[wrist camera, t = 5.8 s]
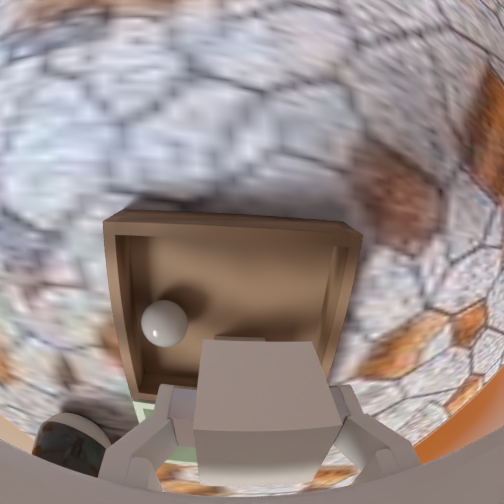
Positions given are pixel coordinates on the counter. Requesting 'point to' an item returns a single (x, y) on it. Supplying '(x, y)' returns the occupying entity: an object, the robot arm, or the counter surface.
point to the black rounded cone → (71, 443)
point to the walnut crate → (225, 285)
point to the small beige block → (262, 413)
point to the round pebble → (164, 323)
